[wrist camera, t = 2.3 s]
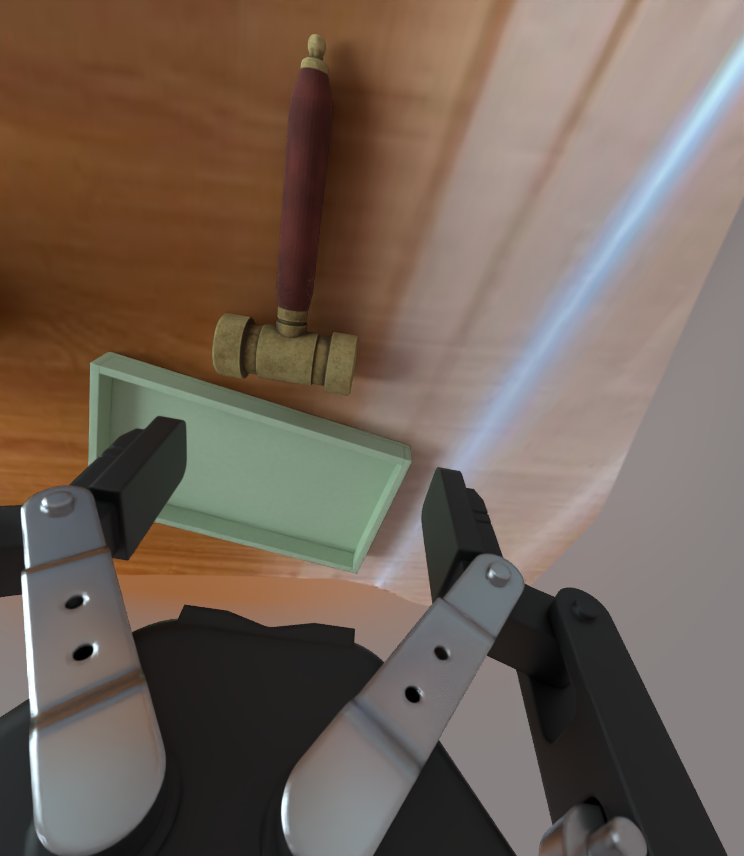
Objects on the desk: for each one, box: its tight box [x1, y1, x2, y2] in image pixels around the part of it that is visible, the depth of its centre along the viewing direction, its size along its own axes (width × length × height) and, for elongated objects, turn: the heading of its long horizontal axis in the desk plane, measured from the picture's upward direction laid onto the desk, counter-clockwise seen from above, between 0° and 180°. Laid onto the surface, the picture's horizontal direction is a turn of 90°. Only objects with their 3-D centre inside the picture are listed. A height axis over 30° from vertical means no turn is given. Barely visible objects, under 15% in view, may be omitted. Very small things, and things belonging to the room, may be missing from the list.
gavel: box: [212, 34, 359, 396], centre depth 28 cm, size 21×5×10 cm
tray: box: [89, 352, 412, 574], centre depth 38 cm, size 26×15×3 cm, turn 70°
